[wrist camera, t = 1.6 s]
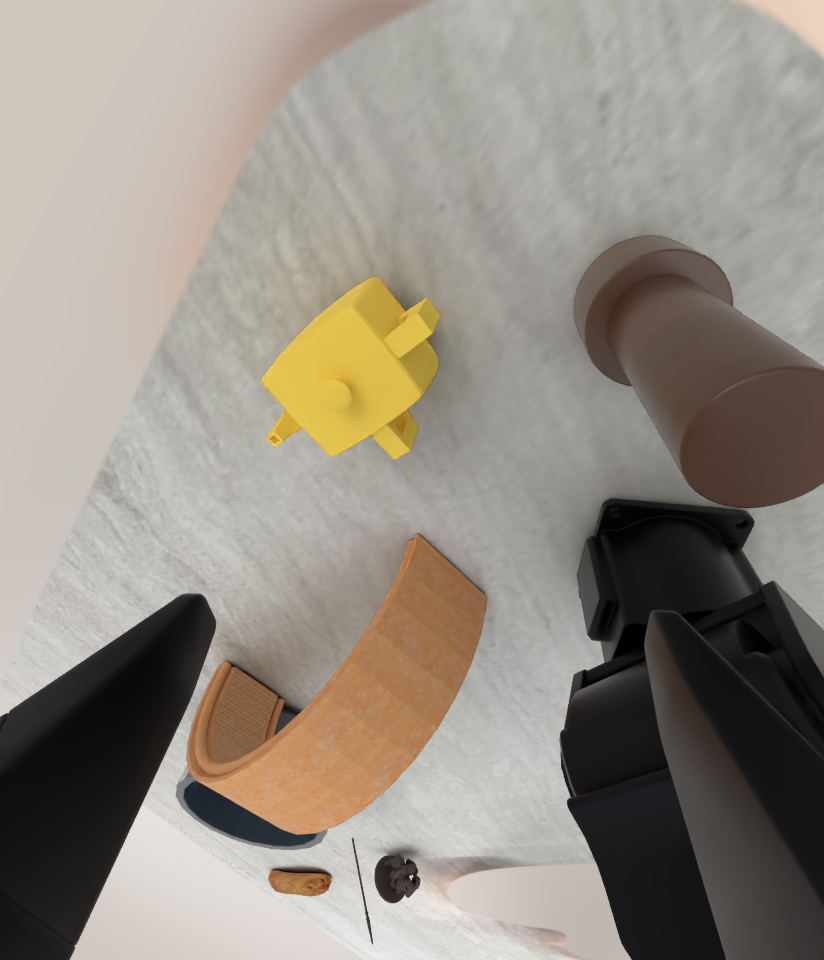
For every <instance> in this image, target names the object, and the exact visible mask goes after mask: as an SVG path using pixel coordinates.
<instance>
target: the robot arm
mask: <svg viewBox="0 0 824 960" xmlns="http://www.w3.org/2000/svg"><path fill="white" fill-rule="evenodd" d="M612 508H618V509H617V510H616V511H614V512H611V511H610V509H612ZM740 520H743V522H741V523H737V522H738V521H740ZM736 523H737V524H736ZM753 526H754V520H753V518H752V517H751V515H750V514H749V513H748V512H747V511H743V510H733V509H722V508H711V507H700V506H690V505H679V504H668V503H657V502H646V501H635V500H624V499H609V500H607V501H605V502H604V503H603V505H602V507H601V511H600V515H599V518H598V522H597V525H596V529H595V533H594V536H590V537H589V538H588V539H587V540H586V542H585V546H584V550H583V554H582V557H581V561H580V565H579V568H578V572H577V580H578V585H579V597H580V599H581V602H582V608H583V613H584V619H585V624H586V630H587V635H588V636H589V637H590V639H591V640H594V641H601V646H602V651H603V656H604V661H605V663H603V664H601V665H599V666H597V667H595V668H592V669H590V670H588V671H587V670H582V671H580V672H578V673H576V674H574V676H573V682H572V688H571V693H570V699H569V704H568V710H567V715H566V721H565V727H564V730H562V731H561V733H560V747H561V767H562V771H563V774H564V778H565V782H566V785H567V788H568V791H569V793H570V796H571V798H569V799H568V800H567V805H568V808H569V810H570V812H571V814H572V816H573V817H574V819H575V821H576V822H577V824H578V826H579V828H580V829H581V831H582V833H583V835H584V836H585V838H586V841H587V843H588V845H589V848H590V850H591V852H592V854H593V857H594V859H595V861H596V864H597V866H598V869H599V872H600V875H601V877H602V881H603V884H604V887H605V890H606V893H607V896H608V899H609V903H610V907H611V910H612V913H613V917H614V920H615V923H616V927H617V930H618V934H619V937H620V940H621V943H622V945H623V947H624V948H625V950H626V952H627V953H628V954H629V956H630V957H631V959H632V960H824V630H823V629H822V628H821V627H820V626H819V625H818V624H817V623H816V622H815V621H814V620H813V619H812V618H811V617H810V616H809V615H808V614H807V613H806V612H805V611H804V610H803V609H802V608H801V607H800V606H799V605H798V604H797V603H796V602H795V601H794V600H793V599H792V598H791V597H790V596H789V595H788V594H787V593H786V592H785V591H784V590H783V589H782V588H781V587H780V586H779V585H778V584H777V583H776V582H775V581H771V582H769V583H767V584H765V585H763V584H762V582H761V580H760V579H759V577H758V575H757V574H756V572H755V570H754V569H753V567H752V566H751V564H750V562H749V561H748V559H747V557H746V556H745V554H744V552H743V551H742V548H743V546H744V544H745V542H746V540H747V538H748V536H749V534H750V532H751V530H752V528H753ZM215 629H216V620H215V617H214V615H213V613H212V611H211V609H210V607H209V604H208V602H207V600H206V598H205V597H204V596H203V595H202V594H191V593H186V594H182V595H180V596H179V597H177V598H176V599H174V600H173V601H171V602H170V603H168V604H167V605H165V606H164V607H163V608H161V609H160V610H158V611H157V612H155V613H154V614H152V615H151V616H149V617H148V618H146V619H145V620H143V621H142V622H140V623H139V624H137V625H136V626H134V627H133V628H131V629H130V630H128V631H127V632H126V633H124V634H123V635H121V636H120V637H118V638H117V639H115V640H114V641H112V642H111V643H109V644H108V645H106V646H105V647H103V648H102V649H100V650H99V651H97V652H96V653H94V654H93V655H91V656H90V657H88V658H87V659H86V660H84V661H83V662H81V663H80V664H78V665H77V666H75V667H74V668H72V669H71V670H69V671H68V672H66V673H65V674H63V675H62V676H60V677H59V678H57V679H56V680H54V681H53V682H51V683H50V684H48V685H47V686H46V687H44V688H43V689H41V690H40V691H38V692H37V693H35V694H34V695H32V696H31V697H29V698H28V699H26V700H25V701H23V702H22V703H20V704H19V705H17V706H16V707H14V708H13V709H12V710H10V712H9V714H8V713H6V714H4V715H2V716H1V717H0V960H70V958H71V956H72V954H73V952H74V950H75V946H74V945H76V944H77V942H78V940H79V938H80V936H81V934H82V932H83V929H84V927H85V925H86V923H87V921H88V919H89V917H90V914H91V912H92V910H93V908H94V906H95V904H96V902H97V900H98V897H99V895H100V893H101V891H102V889H103V887H104V884H105V882H106V880H107V878H108V876H109V874H110V872H111V869H112V867H113V865H114V863H115V861H116V859H117V856H118V854H119V852H120V850H121V848H122V846H123V844H124V842H125V839H126V837H127V835H128V833H129V831H130V829H131V827H132V824H133V822H134V820H135V818H136V816H137V814H138V812H139V809H140V807H141V805H142V803H143V801H144V799H145V797H146V794H147V792H148V790H149V788H150V786H151V784H152V782H153V779H154V777H155V775H156V773H157V771H158V769H159V767H160V764H161V762H162V760H163V758H164V756H165V754H166V752H167V749H168V747H169V745H170V743H171V741H172V739H173V737H174V734H175V732H176V730H177V728H178V726H179V724H180V722H181V719H182V717H183V715H184V713H185V711H186V709H187V706H188V704H189V702H190V699H191V697H192V694H193V692H194V689H195V687H196V684H197V681H198V678H199V676H200V673H201V670H202V667H203V664H204V661H205V659H206V656H207V653H208V650H209V647H210V644H211V642H212V639H213V636H214V633H215Z"/></svg>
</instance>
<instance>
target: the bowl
mask: <svg viewBox="0 0 824 960" xmlns="http://www.w3.org/2000/svg"><path fill="white" fill-rule="evenodd" d="M297 715H298V714H297V713H294V712H291V711H288V710H285V709H282V710H281V713H280V716H279V719H278V721H277V725H276V729H275V733H274V736H275V735H276V734H277V733H278V732H280V731H281V730H282V729H283V728H284V727H285V726H286V725H287V724H288V723H289V722H290V721H292V720H293V719H294V718H295V717H296V716H297ZM176 797H177V799H178V801H179V803H180V805H181V807H182V808H183V809H184V810H185V811H186V812H187V813H189V814H190V815H191V816H192V817H193V818H194V819H195V820H197V821H198V822H200V823H201V824H203V825H205V826H206V827H208V828H209V829H211V830H213V831H215V832H218V833H220V834H222V835H224V836H226V837H229V838H231V839H234V840H237V841H240V842H244V843H247V844H250V845H254V846H259V847H265V848H270V849H282V850H297V849H304V848H310V847H312V846H314V845H316V844H318V843H321V842H322V840H323V838H324V837H325V835H326V833H327V830H328V829H326V830H324V831H321V832H318V833H312V834H299V835H297V834H294V833H291V832H288V831H284V830H282V829H280V828H278V827H277V826H275V825H273V824H271V823H270V822H268V821H266V820H264V819H263V818H261V817H259V816H257V815H256V814H254V813H252V812H250V811H249V810H247V809H245V808H243V807H242V806H240V805H238V804H236V803H235V802H233V801H231V800H230V799H228V798H226V797H224V796H223V795H221V794H219V793H217V792H216V791H214V790H212V789H210V788H209V787H207V786H205V785H203V784H202V783H200V782H198V781H196V779H195V778H194V777H193V776H192V775H191V774H190V773H189V769H188V765H187V767H186V769H185V770H184V772H183V774H182V776H181V778H180V780H179V782H178V784H177V789H176Z"/></svg>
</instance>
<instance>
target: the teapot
mask: <svg viewBox="0 0 824 960" xmlns="http://www.w3.org/2000/svg"><path fill="white" fill-rule="evenodd" d="M439 318H440V314H439V313H438V311H437V310H436V309H435V307H434V306H433V304H432V303H431V302H430V300H429V299H428V297H427V298H425V299H424V300H422V301H421V302H419V303H418V304H416V305H415V306H413V307H412V308H410V309H409V310H407V311H405V310H404V309H403V307H402V306H401V305H400V303H399V302H398V301H397V300H396V298H395V297H394V296H393V294H392V293H391V292H390V291H389V289H388V288H387V287H386V286H385V284H384V283H383V282H382V281H381V280H380V279H379V278H378V277H371V278H369V279H367V280H365V281H363V282H362V283H360V284H359V285H357V286H356V287H354V288H353V289H352V290H350V291H349V292H347V293H346V294H345V295H343V296H342V297H341V298H339V299H338V300H337V301H335V302H334V303H333V304H331V305H330V306H329V307H328V308H327V309H325V310H324V311H323V312H322V313H321V314H320V315H318V316H317V317H316V318H315V319H314V320H313V321H312V322H311V323H310V324H309V325H308V326H307V327H306V328H305V329H304V330H303V331H302V332H301V333H300V334H299V335H298V336H297V337H296V338H295V339H294V340H293V341H292V342H291V343H290V344H289V345H288V346H287V347H286V348H285V350H284V351H283V352H282V353H281V354H280V355H279V356H278V358H277V359H276V360H275V361H274V363H273V364H272V365H271V367H270V368H269V370H268V371H267V372H266V374H265V375H264V377H263V379H262V381H261V382H262V384H263V385H264V386H265V387H266V389H267V390H268V391H269V392H270V393H271V394H272V395H273V397H274V398H275V399H276V400H277V401H278V402H279V403H280V404H281V405H282V406H283V407H284V409H285V410H284V412H283V413H282V415H281V416H280V418H279V419H278V421H277V422H276V424H275V425H274V427H273V428H272V430H271V431H270V433H269V434H268V435H267V437H266V439H267V440H268V441H269V442H270V443H271V444H272V445H273V446H274V447H276V446H277V445H279V444H280V443H281V442H283V441H284V440H285V439H286V438H288V437H289V436H291V435H292V434H294V433H295V432H297V431H298V430H300V429H301V428H303V429H304V430H305V431H306V432H307V433H308V434H309V435H310V436H311V437H312V438H313V440H314V441H315V442H316V443H317V444H318V445H319V446H320V447H321V448H322V449H323V450H324V451H325V452H326V453H327V454H328V455H330V456H336V455H338V454H340V453H342V452H344V451H345V450H347V449H349V448H351V447H352V446H354V445H356V444H357V443H359V442H360V441H362V440H364V439H365V438H367V437H368V436H370V435H371V436H372V437H373V438H374V440H375V441H376V442H377V443H378V444H379V445H380V446H381V447H382V448H383V449H384V450H385V451H386V452H387V453H388V454H389V456H390V457H391V458H392V459H393V460H395V459H397V458H399V457H400V456H402V455H404V454H405V453H407V452H409V451H410V450H411V447H412V445H413V442H414V440H415V437H416V434H417V432H418V429H419V428H418V426H417V425H416V423H415V421H414V419H413V417H412V415H411V414H410V412H409V410H408V408H410V407H411V406H412V405H413V404H414V403H416V402H417V401H418V400H419V399H420V398H421V397H422V396H423V394H424V393H425V391H426V390H427V388H428V387H429V385H430V384H431V382H432V380H433V378H434V377H435V374H436V372H437V370H438V367H439V359H438V356H437V354H436V353H435V351H434V350H433V348H432V347H431V345H430V344H429V342H428V341H427V340H426V338H427V337H428V336H430V335H431V334H432V333H433V331H434V329H435V327H436V325H437V323H438V320H439Z"/></svg>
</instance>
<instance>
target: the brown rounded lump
mask: <svg viewBox="0 0 824 960" xmlns="http://www.w3.org/2000/svg"><path fill="white" fill-rule="evenodd" d="M268 879H269V882H270V885H271V886H272V888H273V889H274V890H275V891H277V892H280V893H285V894H297V895H303V896H317V895H320V894H323V893H325V892H326V891H327V890H328V889H329V886H330V884H331V877H330V876H329V875H327V874H323V873H288V872H282V871H279V870H272V871H271V872H270V874H269V878H268Z"/></svg>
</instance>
